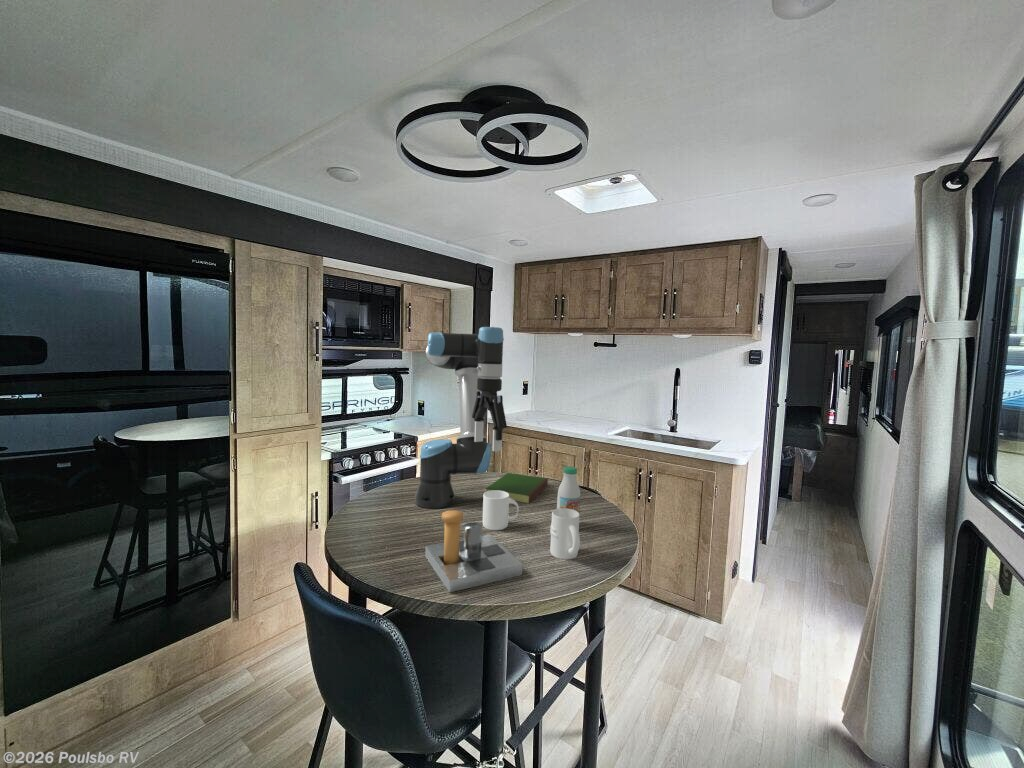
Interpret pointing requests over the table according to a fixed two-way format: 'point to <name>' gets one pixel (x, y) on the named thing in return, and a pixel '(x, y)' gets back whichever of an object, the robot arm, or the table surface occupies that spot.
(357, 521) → the table surface
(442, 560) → the checkered knob plate
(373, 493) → the table surface
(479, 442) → the robot arm
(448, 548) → the tan wooden pestle
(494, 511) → the mug
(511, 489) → the hardcover book
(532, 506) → the table surface
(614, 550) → the table surface
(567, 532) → the mug
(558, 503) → the milk bottle
